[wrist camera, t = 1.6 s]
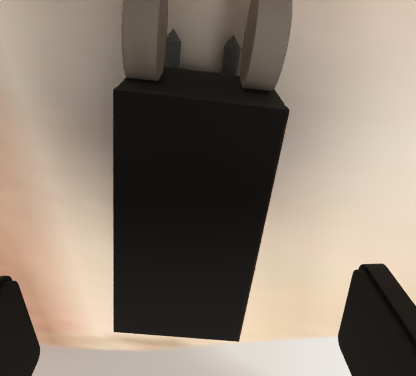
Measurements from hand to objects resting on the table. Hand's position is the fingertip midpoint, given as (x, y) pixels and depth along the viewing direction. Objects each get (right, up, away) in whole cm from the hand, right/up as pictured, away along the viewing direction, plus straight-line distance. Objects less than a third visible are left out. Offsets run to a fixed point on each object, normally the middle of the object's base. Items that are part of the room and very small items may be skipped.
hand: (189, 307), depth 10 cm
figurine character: (0, +6, +10) cm, 11 cm away
